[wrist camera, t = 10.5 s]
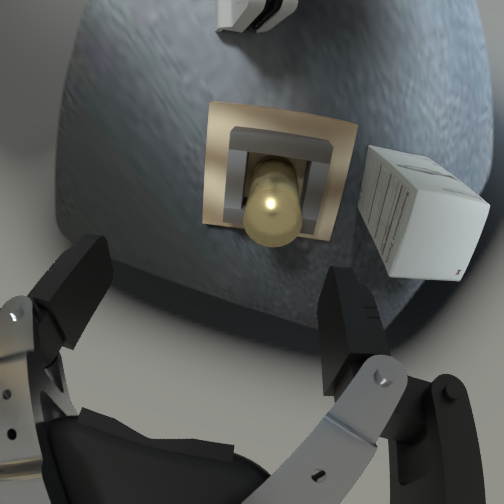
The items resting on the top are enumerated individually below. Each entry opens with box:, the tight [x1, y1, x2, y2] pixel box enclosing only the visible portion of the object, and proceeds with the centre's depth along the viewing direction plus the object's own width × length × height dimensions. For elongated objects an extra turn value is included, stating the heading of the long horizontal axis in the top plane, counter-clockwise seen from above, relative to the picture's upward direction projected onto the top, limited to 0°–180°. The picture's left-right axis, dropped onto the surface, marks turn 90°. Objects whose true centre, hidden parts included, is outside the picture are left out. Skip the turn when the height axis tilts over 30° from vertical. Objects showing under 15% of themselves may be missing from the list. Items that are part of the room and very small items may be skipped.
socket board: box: [203, 102, 358, 241], centre depth 27 cm, size 13×14×4 cm
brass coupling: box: [243, 155, 302, 247], centre depth 24 cm, size 4×4×10 cm
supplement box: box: [357, 145, 490, 281], centre depth 23 cm, size 7×7×13 cm
